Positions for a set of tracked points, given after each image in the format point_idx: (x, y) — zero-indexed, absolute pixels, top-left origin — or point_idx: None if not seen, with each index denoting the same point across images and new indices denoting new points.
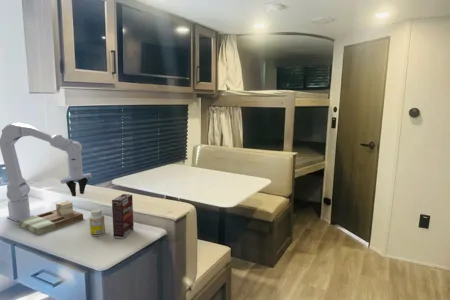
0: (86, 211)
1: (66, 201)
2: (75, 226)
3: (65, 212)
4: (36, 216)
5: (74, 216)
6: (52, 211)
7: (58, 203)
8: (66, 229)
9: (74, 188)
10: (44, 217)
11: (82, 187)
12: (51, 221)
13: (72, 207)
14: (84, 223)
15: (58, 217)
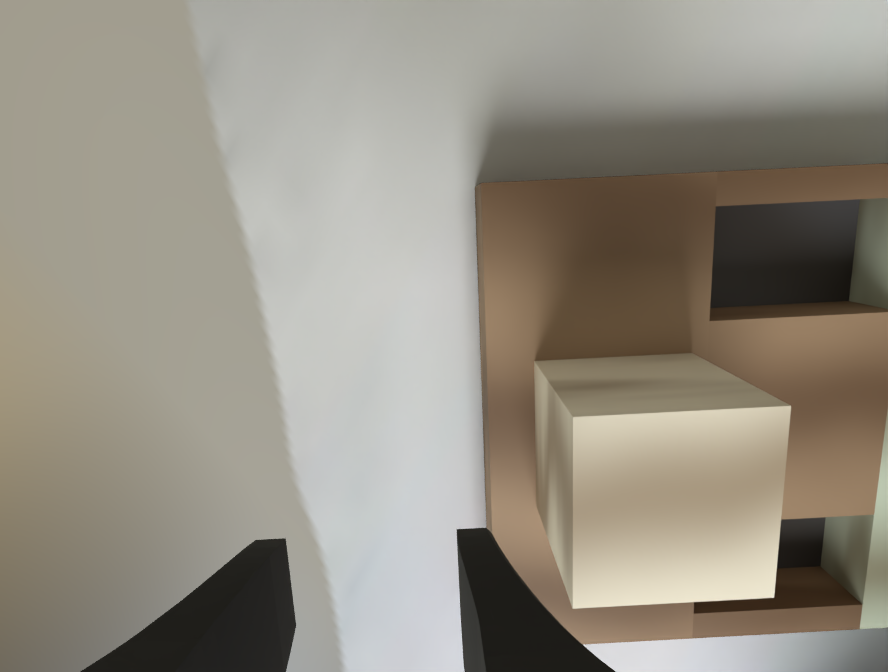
0: (303, 416)
1: (610, 543)
2: (679, 19)
3: (660, 365)
4: (880, 589)
5: (614, 185)
6: (671, 609)
7: (759, 546)
8: (800, 20)
9: (529, 648)
10: (852, 482)
11: (206, 670)
12: (855, 310)
13: (553, 384)
14: (551, 18)
15: (759, 335)
